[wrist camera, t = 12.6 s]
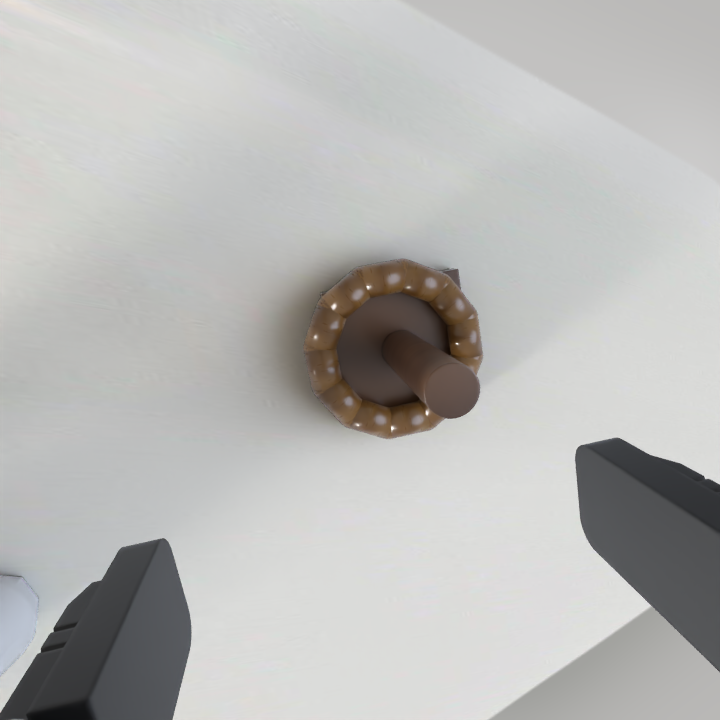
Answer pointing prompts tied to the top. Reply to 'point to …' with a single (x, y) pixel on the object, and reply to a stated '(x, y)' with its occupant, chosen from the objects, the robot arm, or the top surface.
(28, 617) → the salt shaker
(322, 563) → the top surface
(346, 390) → the ring
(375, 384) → the peg on square base
